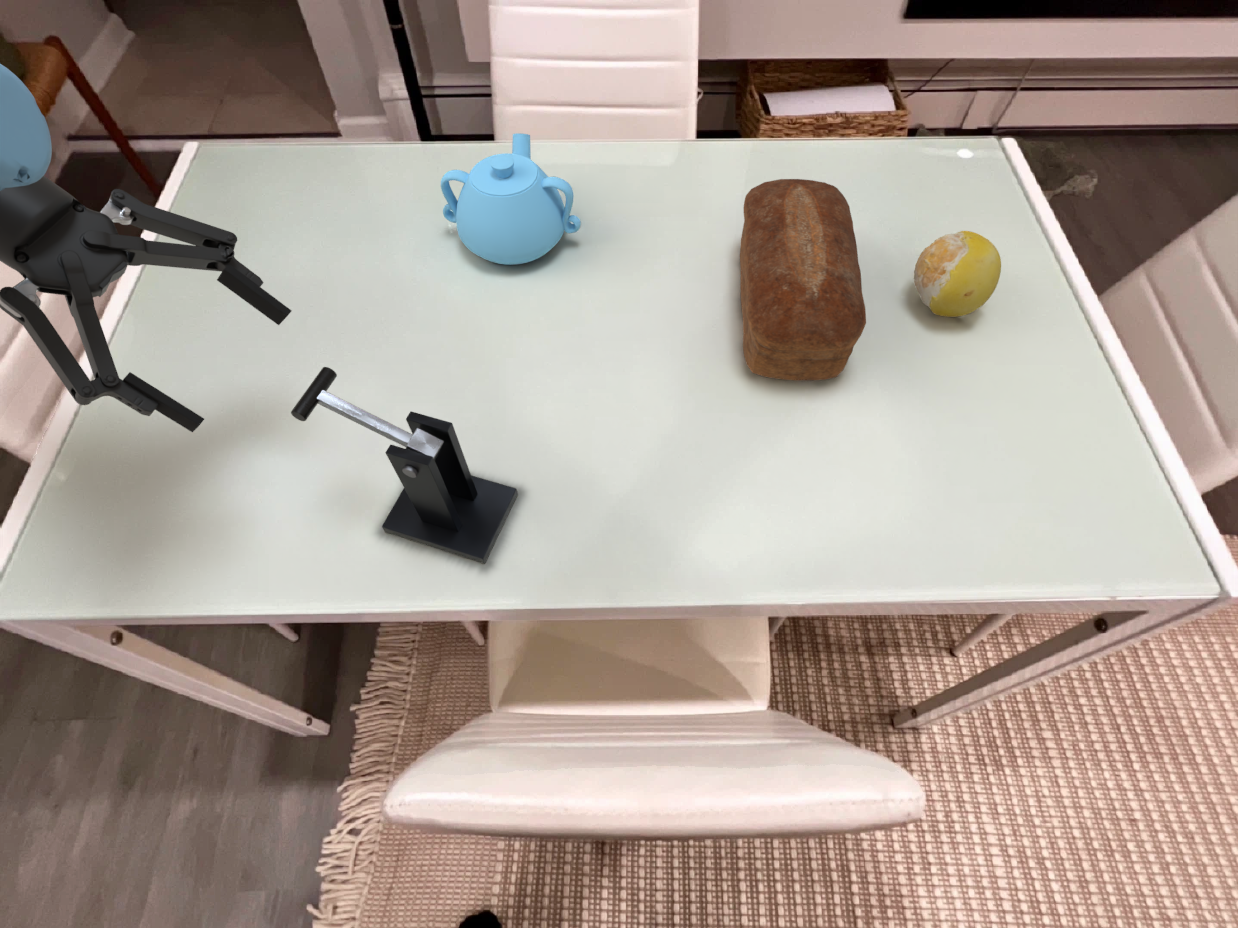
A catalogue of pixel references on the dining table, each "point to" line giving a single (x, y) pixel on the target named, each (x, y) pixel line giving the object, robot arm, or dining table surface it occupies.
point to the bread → (799, 281)
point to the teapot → (509, 207)
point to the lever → (362, 416)
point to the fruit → (957, 273)
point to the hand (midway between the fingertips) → (244, 369)
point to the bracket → (446, 497)
